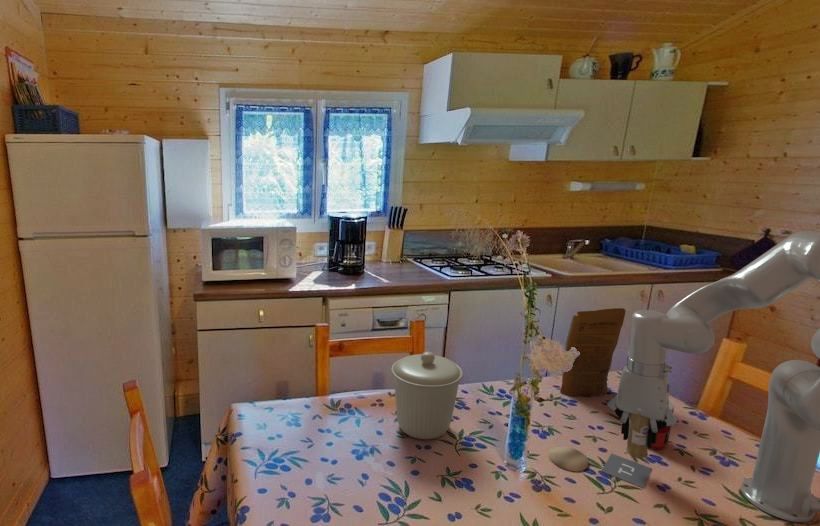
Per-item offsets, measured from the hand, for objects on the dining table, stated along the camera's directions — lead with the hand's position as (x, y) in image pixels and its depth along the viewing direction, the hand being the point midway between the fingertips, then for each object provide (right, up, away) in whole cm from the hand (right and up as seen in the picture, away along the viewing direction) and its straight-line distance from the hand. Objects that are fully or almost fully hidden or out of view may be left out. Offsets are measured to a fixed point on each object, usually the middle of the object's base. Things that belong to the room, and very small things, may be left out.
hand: (638, 440), depth 107 cm
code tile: (-2, -8, +2) cm, 8 cm away
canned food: (+10, -6, +14) cm, 18 cm away
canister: (-49, -3, +15) cm, 51 cm away
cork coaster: (-14, -6, +5) cm, 16 cm away
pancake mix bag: (+3, 0, +39) cm, 39 cm away
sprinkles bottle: (0, -3, +1) cm, 3 cm away
